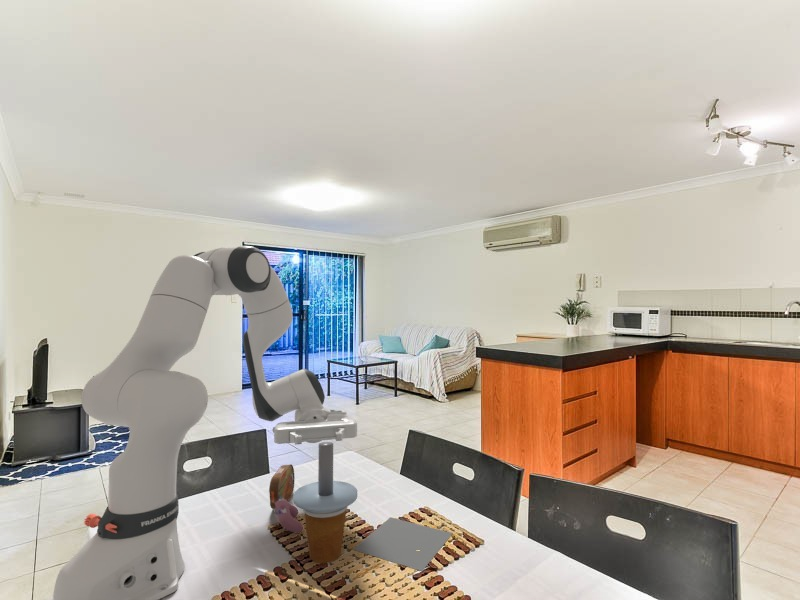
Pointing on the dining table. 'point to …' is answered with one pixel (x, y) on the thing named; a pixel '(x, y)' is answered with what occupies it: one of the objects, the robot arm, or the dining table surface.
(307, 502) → the lid
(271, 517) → the dining table surface
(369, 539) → the mat
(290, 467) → the tin
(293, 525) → the video game controller
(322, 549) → the disposable coffee cup
